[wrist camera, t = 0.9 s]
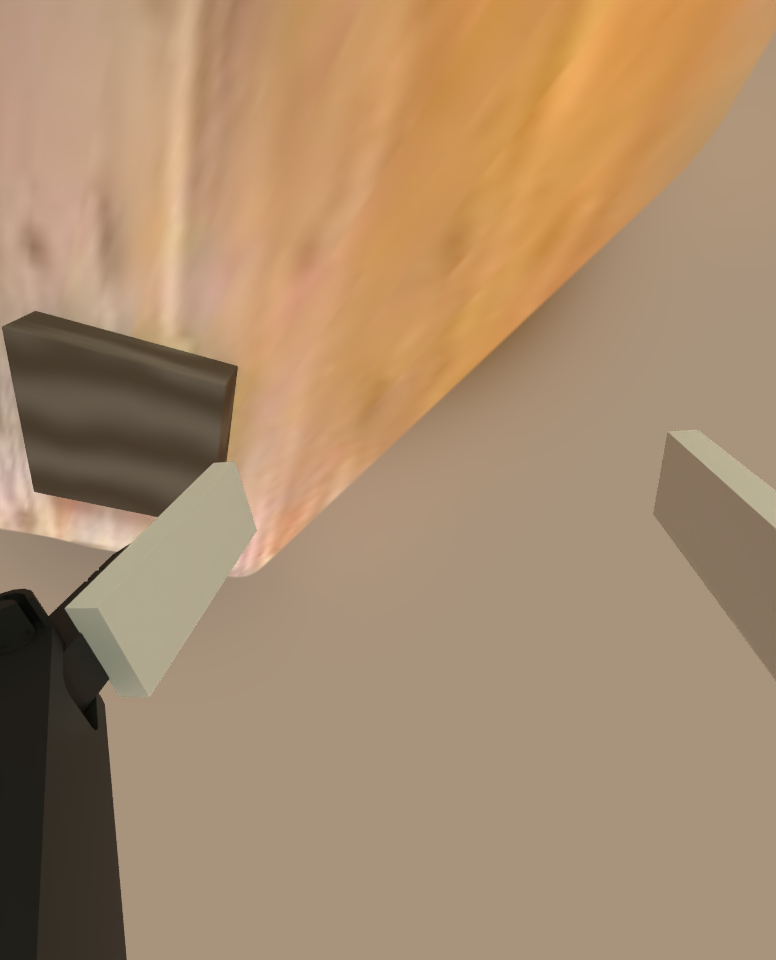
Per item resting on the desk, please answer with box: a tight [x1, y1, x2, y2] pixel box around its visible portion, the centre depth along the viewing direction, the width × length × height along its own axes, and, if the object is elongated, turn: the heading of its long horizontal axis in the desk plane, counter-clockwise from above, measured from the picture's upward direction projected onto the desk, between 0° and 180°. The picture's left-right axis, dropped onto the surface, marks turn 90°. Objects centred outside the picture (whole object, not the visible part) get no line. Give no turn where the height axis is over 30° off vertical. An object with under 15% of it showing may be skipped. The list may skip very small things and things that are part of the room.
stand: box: [2, 311, 238, 517], centre depth 40 cm, size 16×16×4 cm
